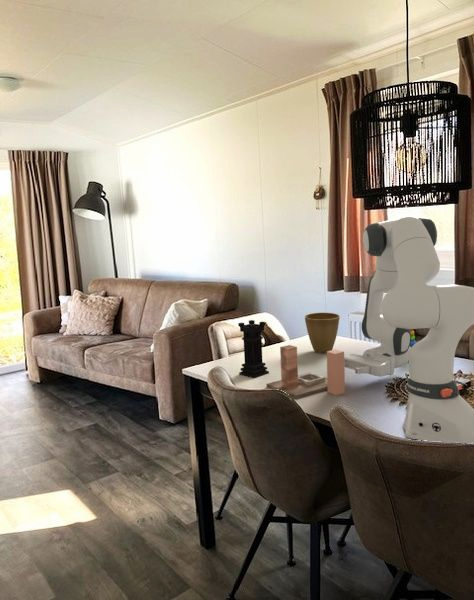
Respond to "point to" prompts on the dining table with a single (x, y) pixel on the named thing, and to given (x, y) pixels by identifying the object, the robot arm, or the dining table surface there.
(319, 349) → the plant pot
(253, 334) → the chess piece
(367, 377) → the dining table surface
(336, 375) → the loose pillar
